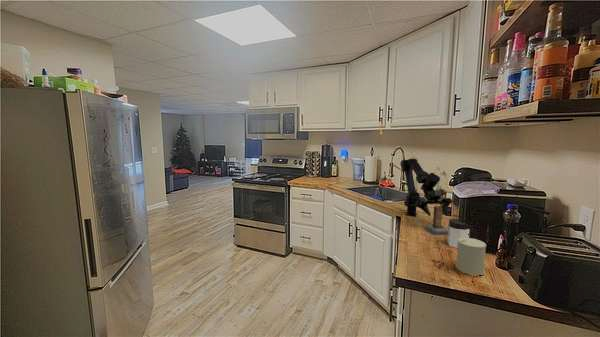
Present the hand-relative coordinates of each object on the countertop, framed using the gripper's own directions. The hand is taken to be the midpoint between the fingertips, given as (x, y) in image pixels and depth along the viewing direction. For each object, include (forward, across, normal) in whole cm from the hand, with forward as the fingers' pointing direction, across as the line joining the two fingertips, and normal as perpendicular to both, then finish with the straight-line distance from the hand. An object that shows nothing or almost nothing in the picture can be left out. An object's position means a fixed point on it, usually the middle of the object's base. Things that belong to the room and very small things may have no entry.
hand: (438, 215), depth 136 cm
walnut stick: (+5, 0, +6) cm, 8 cm away
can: (+35, -10, -22) cm, 43 cm away
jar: (+19, 0, -6) cm, 20 cm away
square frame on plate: (+6, 0, +7) cm, 9 cm away
